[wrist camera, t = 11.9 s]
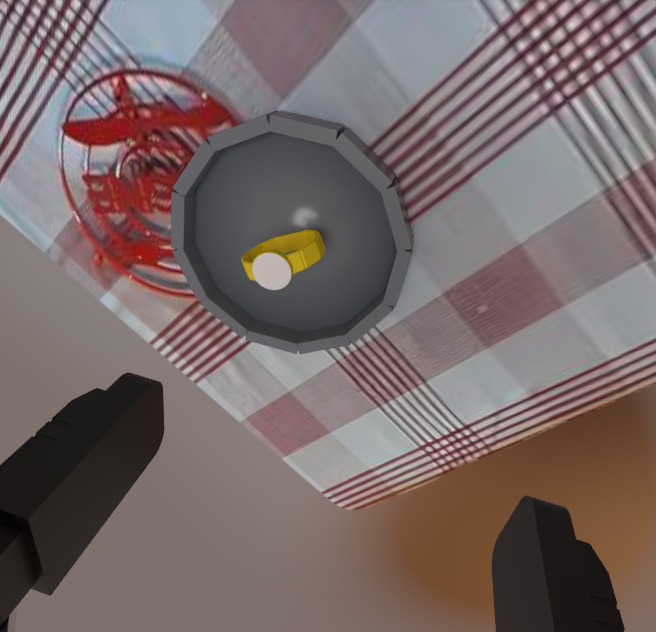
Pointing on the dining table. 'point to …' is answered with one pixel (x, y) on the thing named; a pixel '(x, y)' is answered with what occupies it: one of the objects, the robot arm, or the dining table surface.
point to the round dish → (292, 230)
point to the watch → (283, 258)
